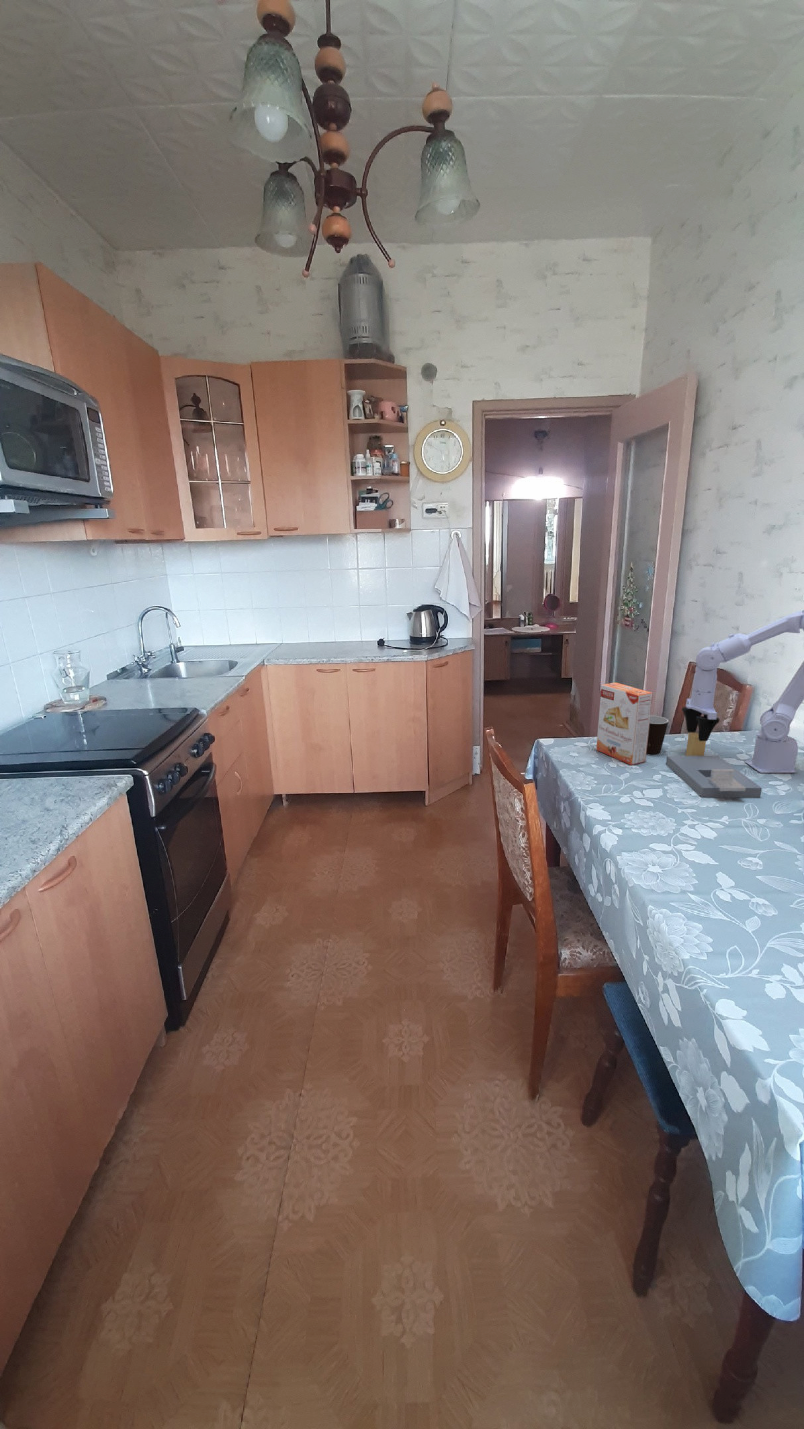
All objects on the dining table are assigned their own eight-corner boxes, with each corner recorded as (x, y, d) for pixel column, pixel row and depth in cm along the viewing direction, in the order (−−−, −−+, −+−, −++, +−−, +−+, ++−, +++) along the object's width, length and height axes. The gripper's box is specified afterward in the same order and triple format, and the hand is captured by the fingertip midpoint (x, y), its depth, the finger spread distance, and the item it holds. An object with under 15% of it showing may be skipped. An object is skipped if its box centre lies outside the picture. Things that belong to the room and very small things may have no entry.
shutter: (732, 781, 142) (734, 769, 141) (745, 791, 136) (747, 778, 135) (707, 781, 142) (709, 769, 141) (719, 791, 136) (721, 778, 135)
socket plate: (716, 763, 160) (718, 755, 159) (760, 797, 139) (761, 787, 138) (666, 763, 160) (667, 755, 160) (701, 797, 139) (702, 787, 139)
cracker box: (594, 750, 172) (600, 683, 166) (609, 747, 174) (615, 681, 168) (630, 766, 159) (637, 694, 153) (646, 762, 162) (654, 691, 156)
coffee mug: (669, 755, 166) (673, 723, 163) (640, 756, 166) (643, 724, 163) (653, 742, 177) (657, 712, 174) (625, 743, 178) (628, 712, 175)
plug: (697, 755, 166) (701, 732, 164) (703, 759, 163) (706, 736, 161) (685, 755, 166) (688, 732, 164) (690, 759, 163) (693, 736, 161)
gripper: (678, 684, 166) (672, 728, 170) (700, 697, 152) (693, 744, 156) (702, 684, 165) (696, 728, 169) (727, 697, 152) (720, 744, 156)
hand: (697, 736), depth 163 cm, fingers open, 7 cm apart
